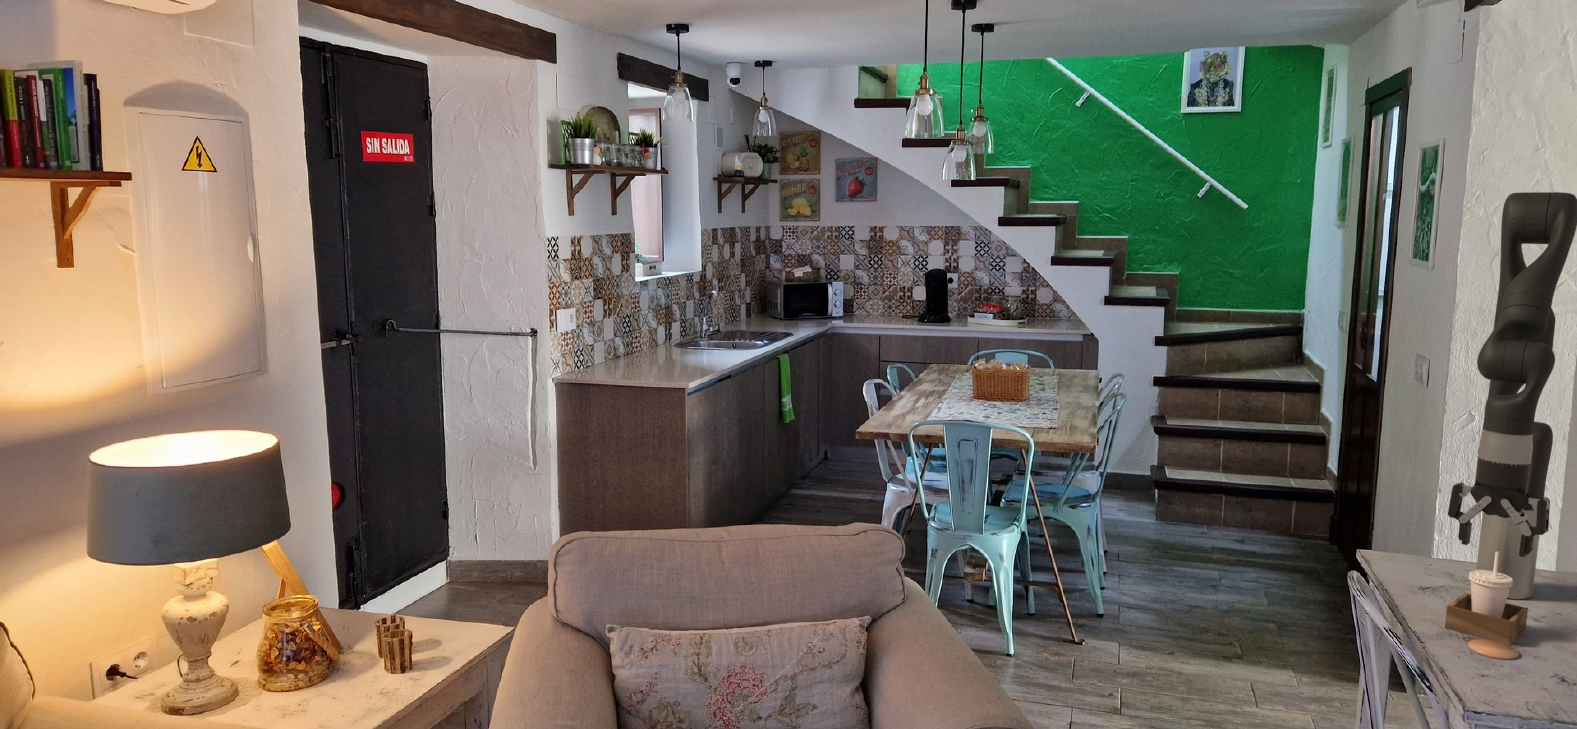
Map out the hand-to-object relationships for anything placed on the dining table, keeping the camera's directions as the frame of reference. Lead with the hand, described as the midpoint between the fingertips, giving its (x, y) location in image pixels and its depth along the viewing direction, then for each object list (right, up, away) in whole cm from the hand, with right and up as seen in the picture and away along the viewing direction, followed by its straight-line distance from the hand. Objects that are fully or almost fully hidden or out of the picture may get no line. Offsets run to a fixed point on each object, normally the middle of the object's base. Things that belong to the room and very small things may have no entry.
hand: (1493, 549), depth 182 cm
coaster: (-5, -16, -7) cm, 18 cm away
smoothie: (0, -14, +2) cm, 15 cm away
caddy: (0, -14, +2) cm, 14 cm away
